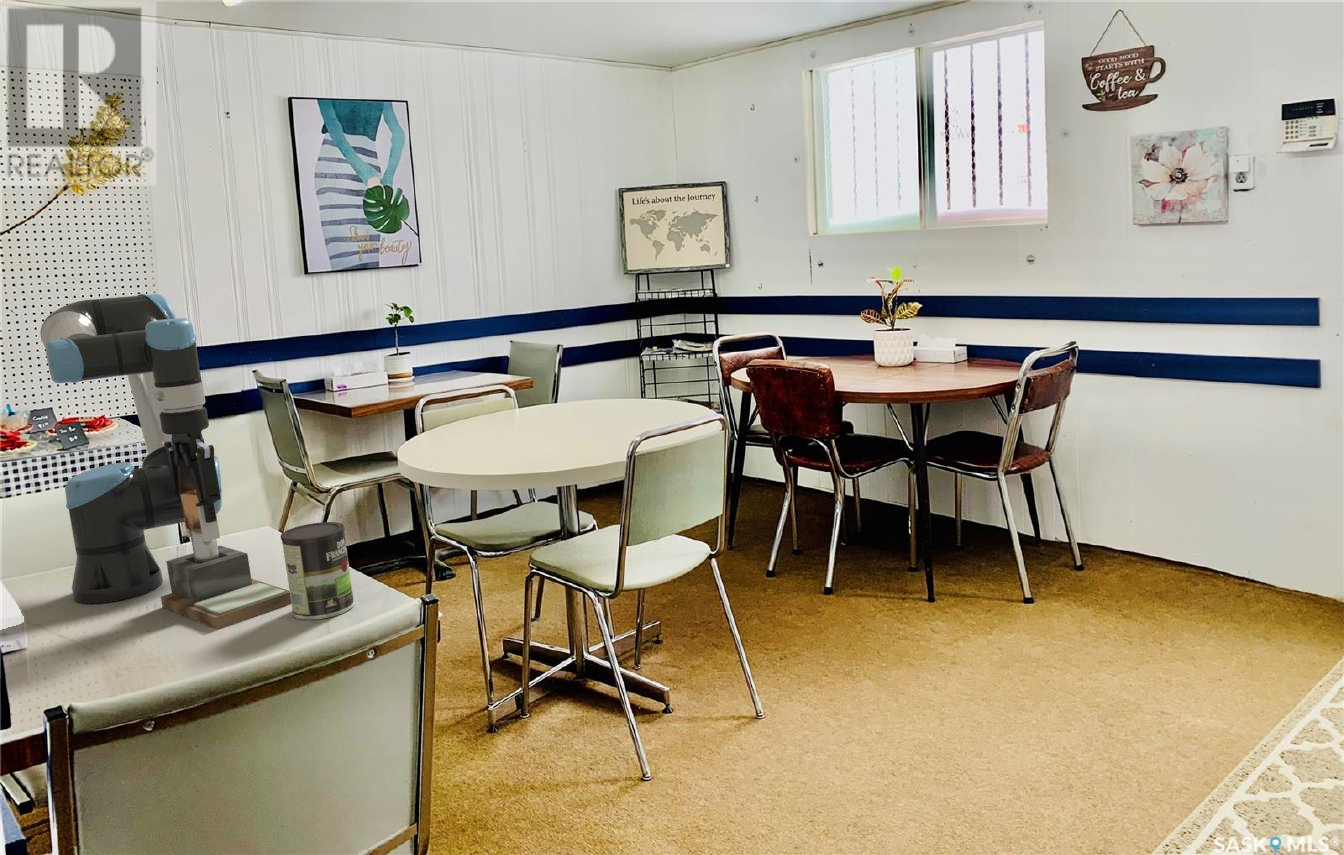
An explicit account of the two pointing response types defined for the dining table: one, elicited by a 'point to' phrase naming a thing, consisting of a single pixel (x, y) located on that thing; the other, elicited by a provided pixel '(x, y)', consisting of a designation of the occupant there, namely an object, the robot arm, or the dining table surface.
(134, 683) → the dining table surface
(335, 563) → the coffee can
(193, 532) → the peg
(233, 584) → the board
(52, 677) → the dining table surface
